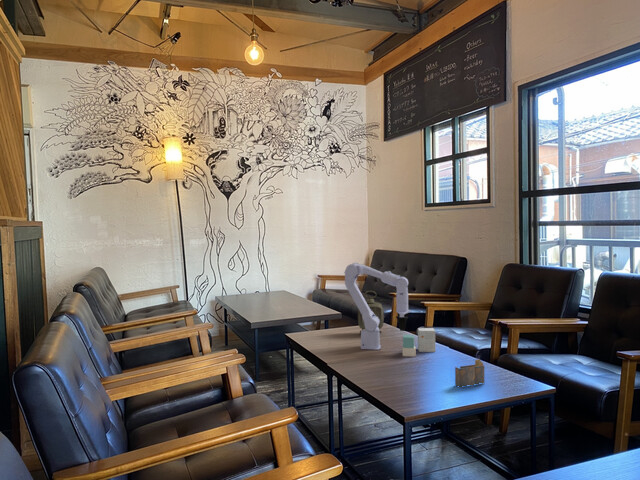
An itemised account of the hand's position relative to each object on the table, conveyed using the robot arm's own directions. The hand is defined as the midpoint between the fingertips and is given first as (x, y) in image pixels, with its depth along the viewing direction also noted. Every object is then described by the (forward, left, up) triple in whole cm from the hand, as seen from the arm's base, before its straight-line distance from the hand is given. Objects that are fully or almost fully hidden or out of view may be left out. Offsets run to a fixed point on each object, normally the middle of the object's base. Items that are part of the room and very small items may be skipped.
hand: (402, 328), depth 225 cm
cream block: (+3, -8, -11) cm, 14 cm away
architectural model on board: (+28, -45, -11) cm, 54 cm away
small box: (+11, +1, -11) cm, 16 cm away
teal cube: (+3, -8, -7) cm, 11 cm away
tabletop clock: (-19, +28, -11) cm, 36 cm away
